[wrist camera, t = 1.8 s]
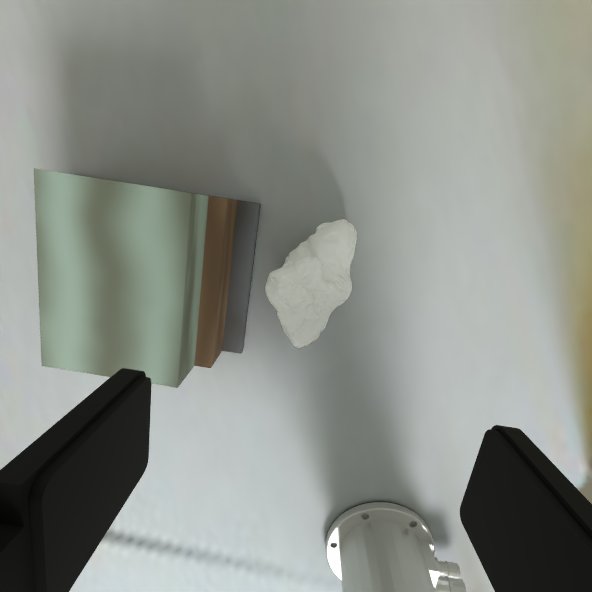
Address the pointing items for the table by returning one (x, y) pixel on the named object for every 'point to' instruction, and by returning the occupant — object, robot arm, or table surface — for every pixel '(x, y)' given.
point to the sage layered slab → (140, 276)
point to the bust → (313, 281)
